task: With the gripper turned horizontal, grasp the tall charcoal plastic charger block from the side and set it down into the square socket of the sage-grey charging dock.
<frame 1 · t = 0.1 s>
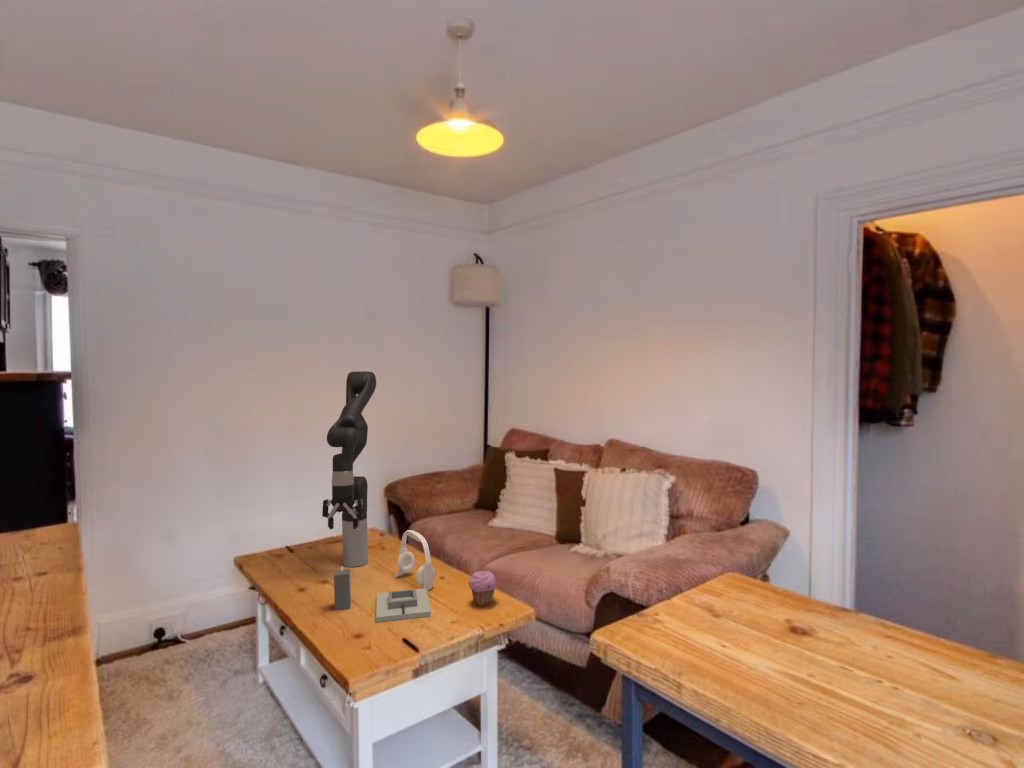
hand: (343, 528, 203), 17 cm above the table, tool pointing down, fingers open, 8 cm apart
charging dock: (402, 606, 178), on the table
cupcake: (483, 603, 180), on the table
charger block: (343, 606, 179), on the table
headset: (415, 583, 197), on the table
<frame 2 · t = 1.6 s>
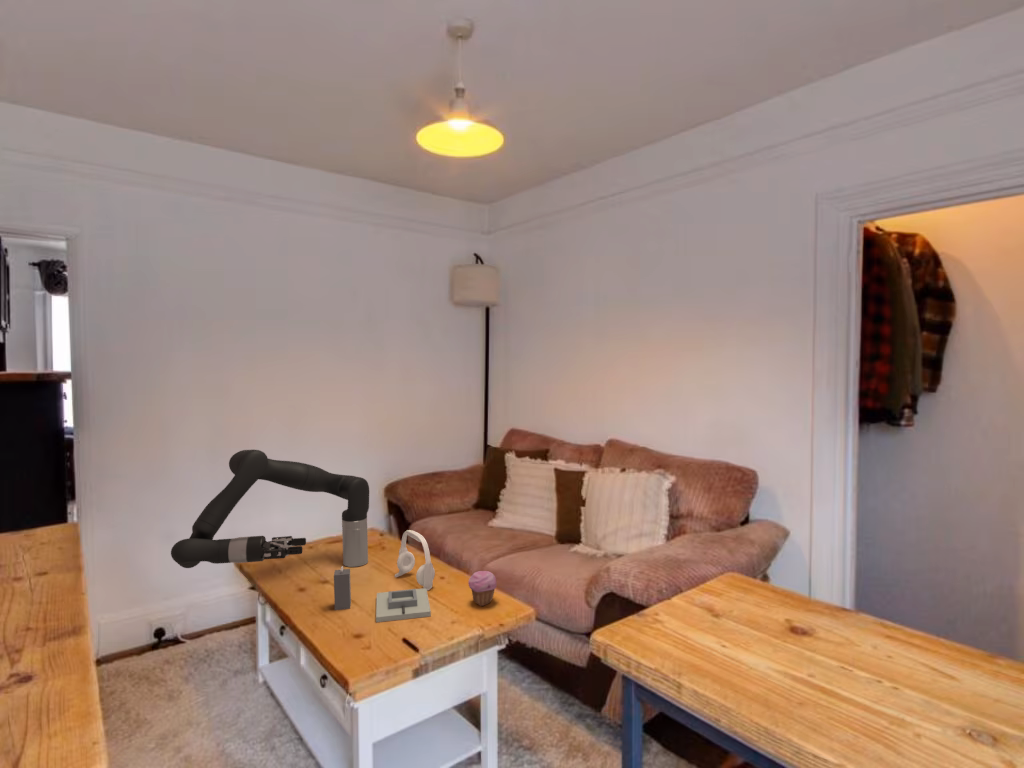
hand: (304, 545, 176), 20 cm above the table, tool horizontal, fingers open, 8 cm apart
nothing on the table moved.
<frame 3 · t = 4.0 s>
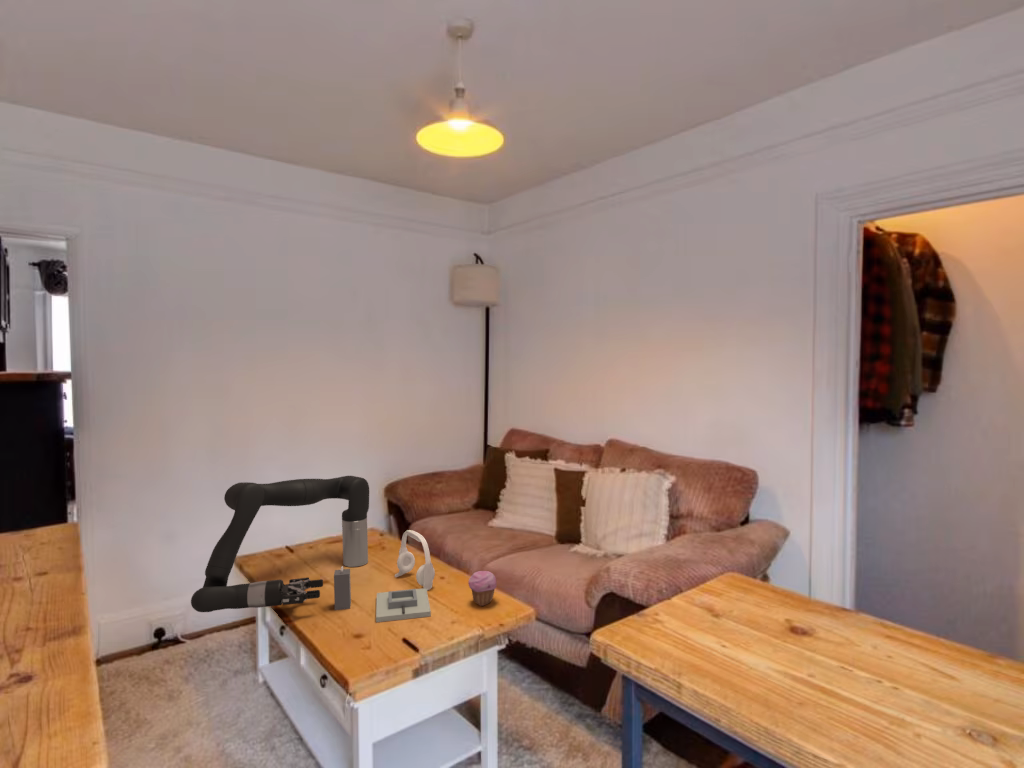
hand: (321, 588, 178), 6 cm above the table, tool horizontal, fingers open, 8 cm apart
nothing on the table moved.
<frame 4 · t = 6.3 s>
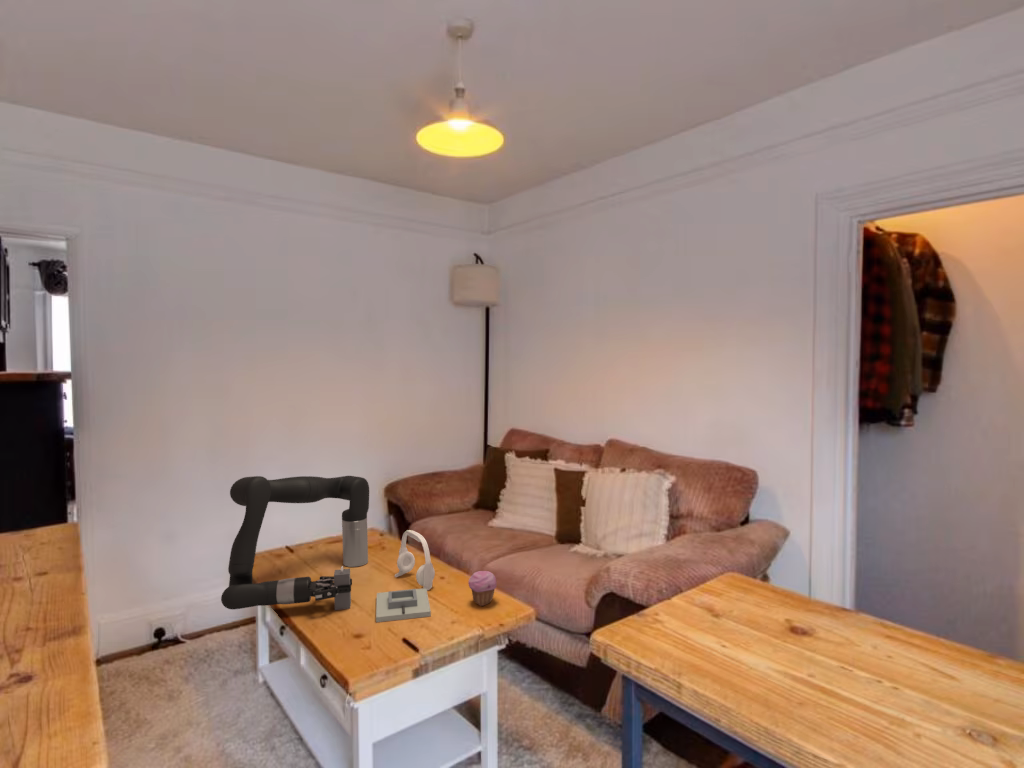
hand: (351, 585, 179), 7 cm above the table, tool horizontal, fingers closed on charger block, 4 cm apart
charger block: (343, 606, 179), on the table, touching gripper
everything else where it was.
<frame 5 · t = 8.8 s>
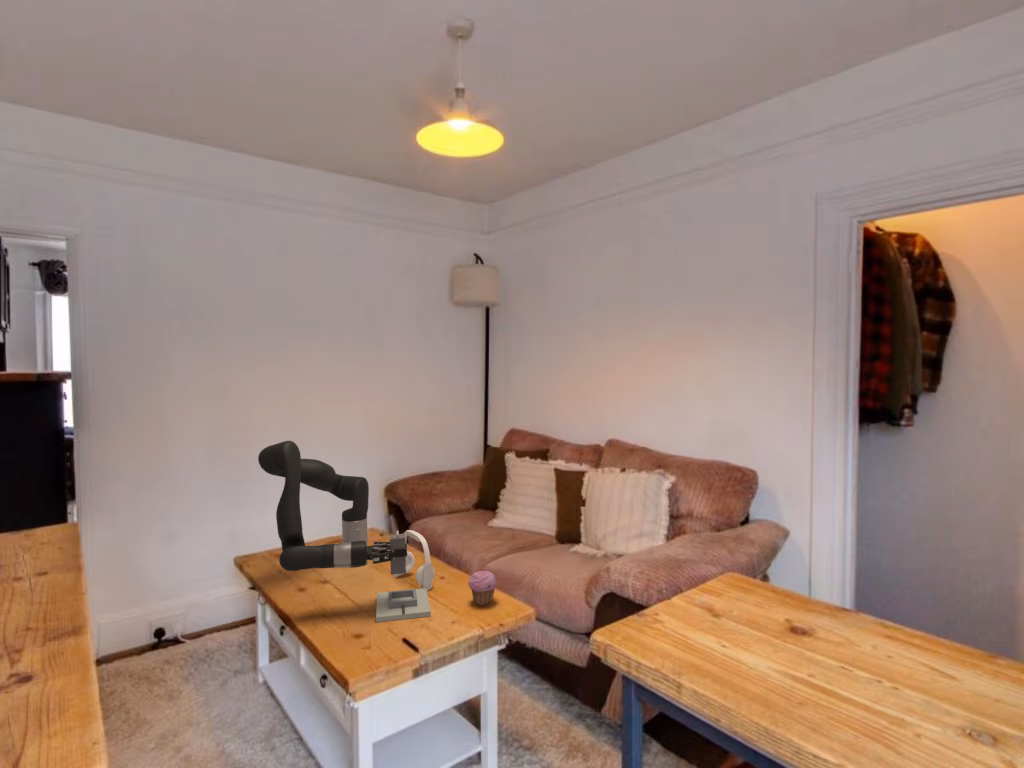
hand: (406, 549, 178), 18 cm above the table, tool horizontal, fingers closed on charger block, 4 cm apart
charger block: (398, 571, 178), point 11 cm above the table, touching gripper
everything else where it was.
when the fingers open (9 cm above the table, at t = 11.5 s): charger block stays where it is, resting on charging dock.
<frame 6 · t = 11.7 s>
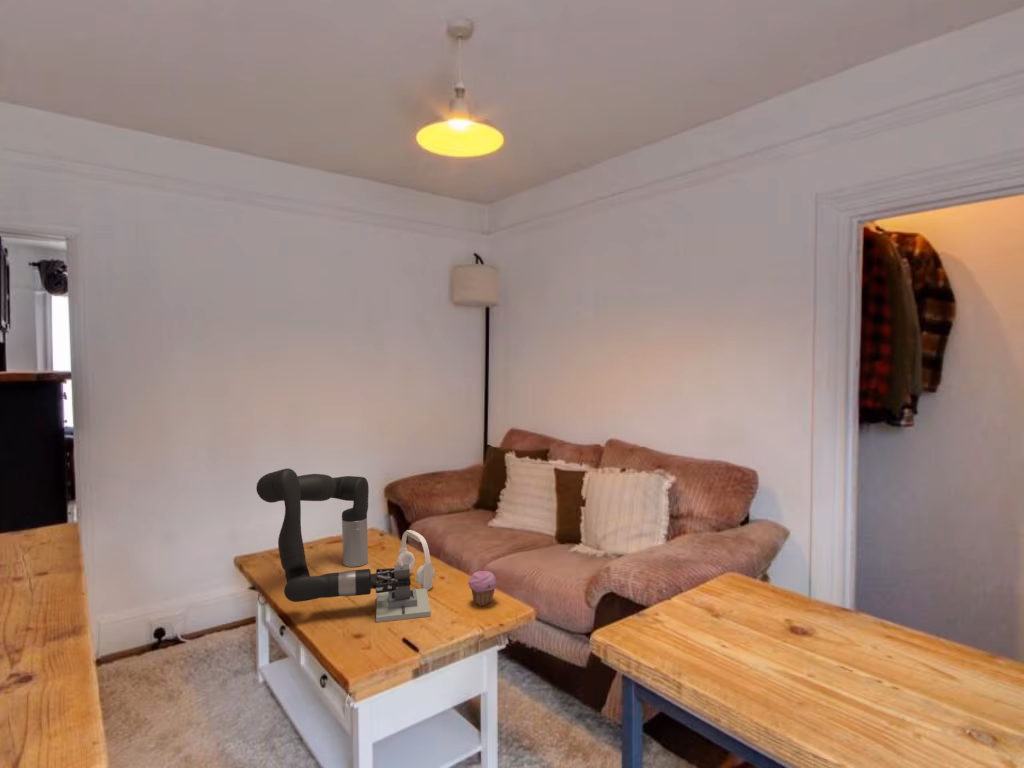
hand: (409, 577, 178), 9 cm above the table, tool horizontal, fingers open, 6 cm apart
charger block: (402, 601, 178), point 1 cm above the table, touching charging dock
everything else where it was.
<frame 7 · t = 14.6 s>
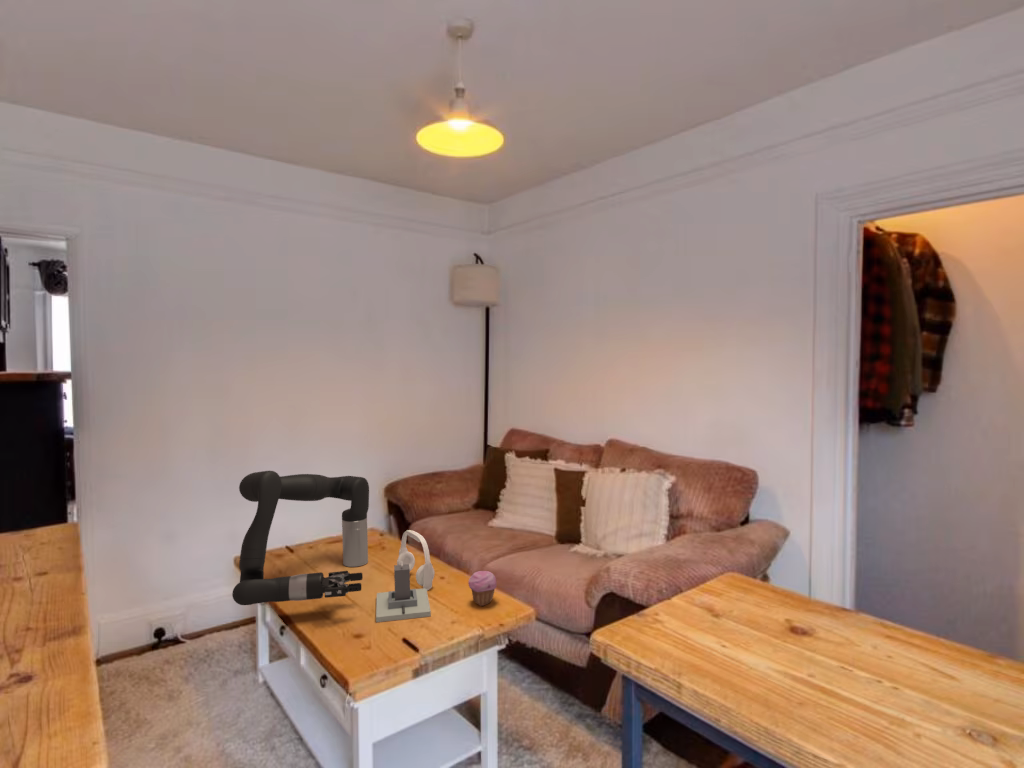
hand: (361, 581, 175), 9 cm above the table, tool horizontal, fingers open, 8 cm apart
nothing on the table moved.
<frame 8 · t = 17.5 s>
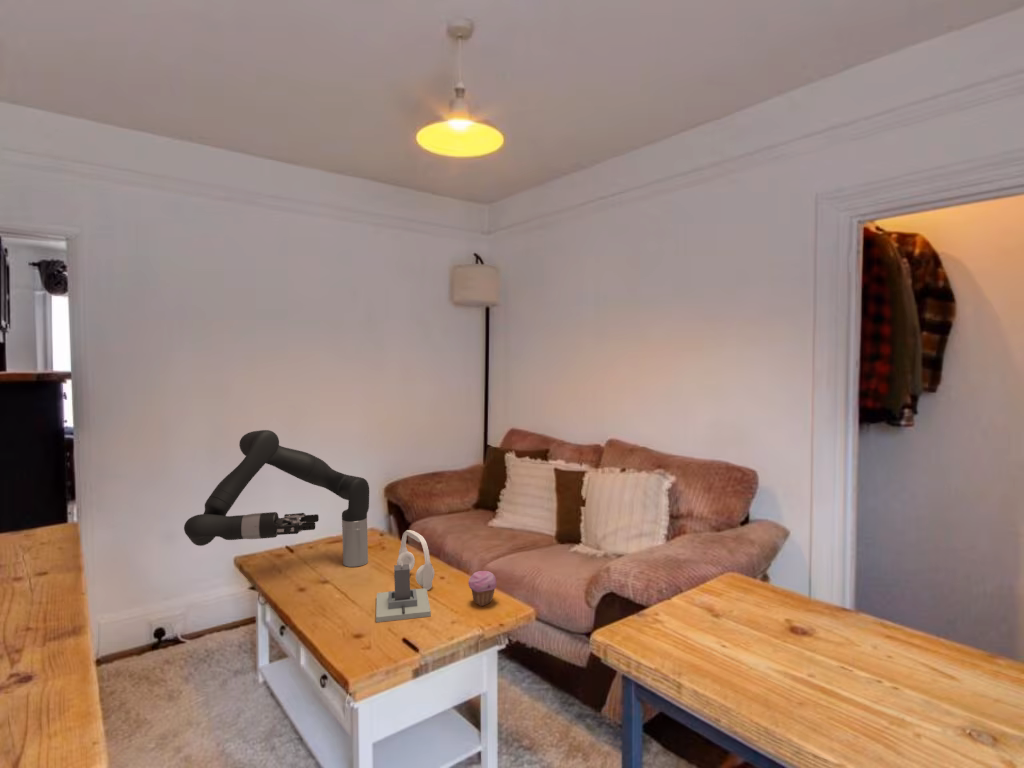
hand: (316, 521, 175), 28 cm above the table, tool horizontal, fingers open, 8 cm apart
nothing on the table moved.
at the end: charger block 0.0 cm off-centre on the charging dock, point 1.5 cm above the charging dock's base; charger block tilted 0°; the gripper is holding nothing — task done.
